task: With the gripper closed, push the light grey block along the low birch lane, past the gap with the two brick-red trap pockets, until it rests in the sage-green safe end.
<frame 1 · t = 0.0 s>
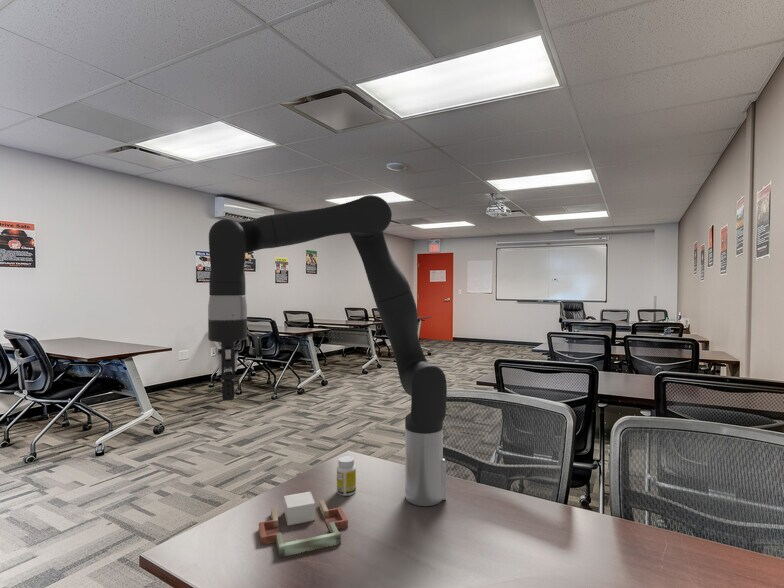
hand: (228, 395, 89), 29 cm above the table, tool pointing down, fingers open, 8 cm apart
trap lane: (303, 528, 92), on the table
supplement bottle: (346, 492, 109), on the table
grey block: (299, 517, 97), on the table
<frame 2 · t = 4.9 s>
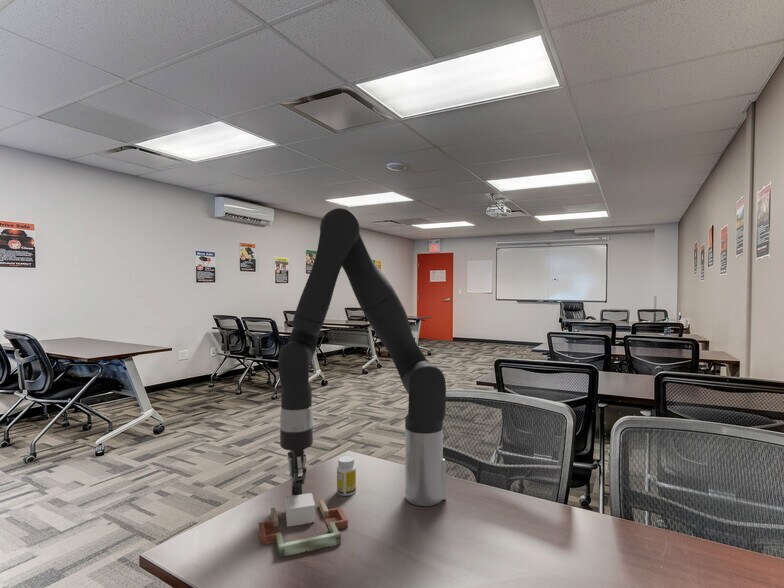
hand: (296, 498, 101), 2 cm above the table, tool pointing down, fingers closed
nothing on the table moved.
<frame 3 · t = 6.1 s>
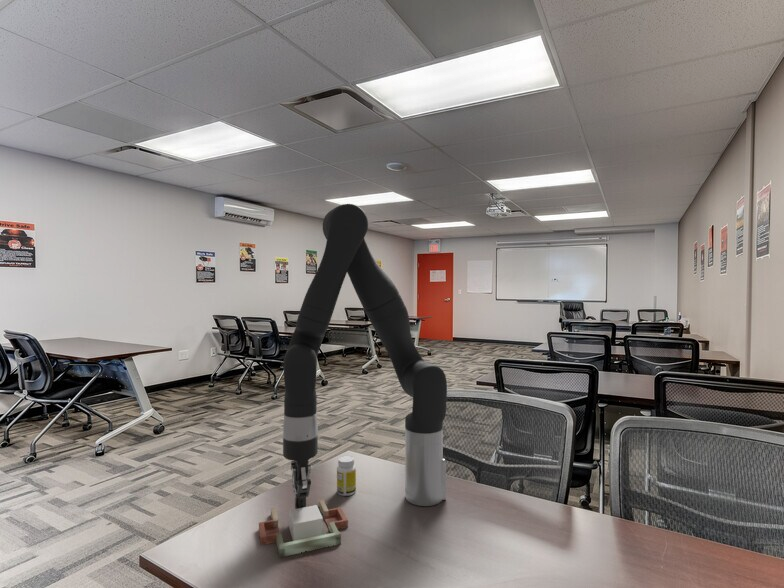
hand: (300, 511, 95), 2 cm above the table, tool pointing down, fingers closed
grey block: (305, 533, 91), on the table, touching gripper
everything else where it was.
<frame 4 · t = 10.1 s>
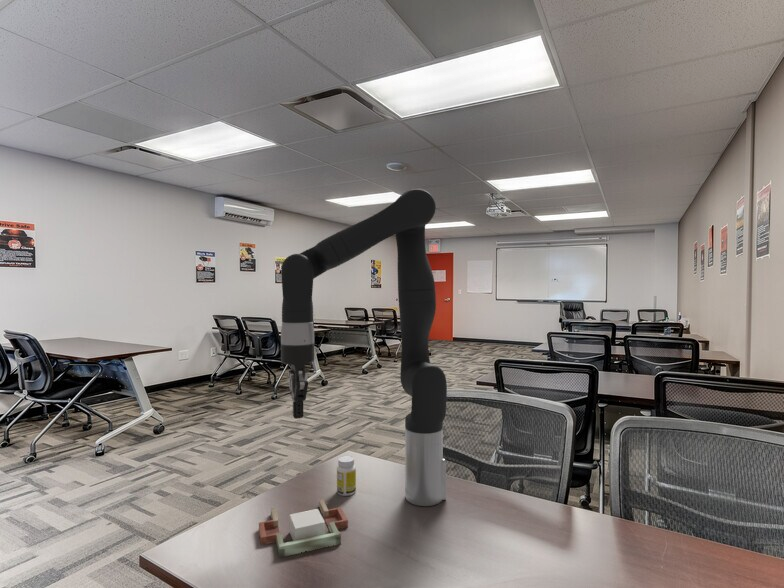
hand: (298, 417, 99), 22 cm above the table, tool pointing down, fingers closed
grey block: (307, 537, 89), on the table
everything else where it was.
at the end: grey block 0.9 cm from the target spot, on the table; grey block tilted 0° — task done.
